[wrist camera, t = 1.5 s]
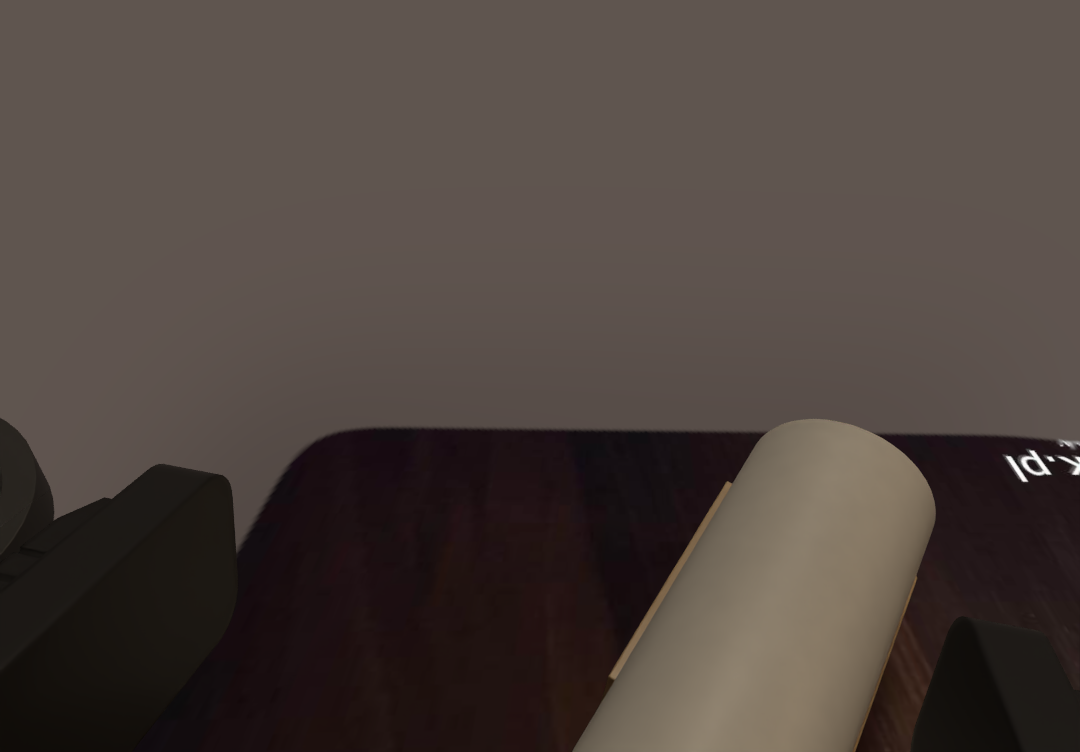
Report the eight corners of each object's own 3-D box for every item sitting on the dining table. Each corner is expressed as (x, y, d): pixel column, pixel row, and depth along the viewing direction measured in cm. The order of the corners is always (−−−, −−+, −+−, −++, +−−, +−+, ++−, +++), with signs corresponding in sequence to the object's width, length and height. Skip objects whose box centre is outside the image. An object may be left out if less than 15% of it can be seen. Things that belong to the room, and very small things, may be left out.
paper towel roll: (535, 839, 23) (556, 748, 19) (733, 502, 31) (777, 387, 27) (743, 985, 21) (818, 918, 17) (895, 585, 29) (969, 474, 25)
